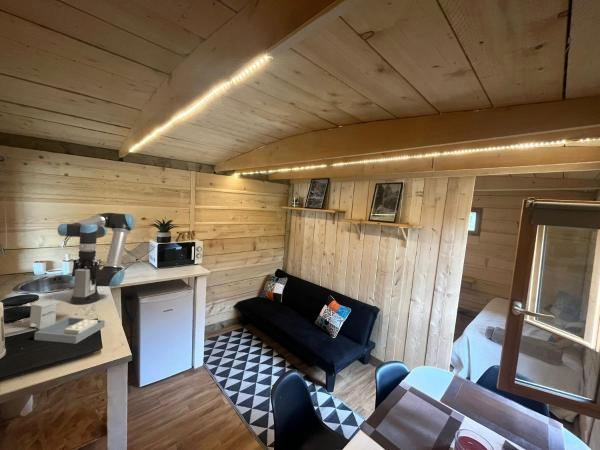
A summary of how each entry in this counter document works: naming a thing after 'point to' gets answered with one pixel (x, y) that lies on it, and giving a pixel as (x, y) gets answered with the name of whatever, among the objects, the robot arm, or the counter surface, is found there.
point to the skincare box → (82, 283)
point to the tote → (57, 334)
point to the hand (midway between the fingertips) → (84, 289)
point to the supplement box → (43, 313)
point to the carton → (80, 326)
